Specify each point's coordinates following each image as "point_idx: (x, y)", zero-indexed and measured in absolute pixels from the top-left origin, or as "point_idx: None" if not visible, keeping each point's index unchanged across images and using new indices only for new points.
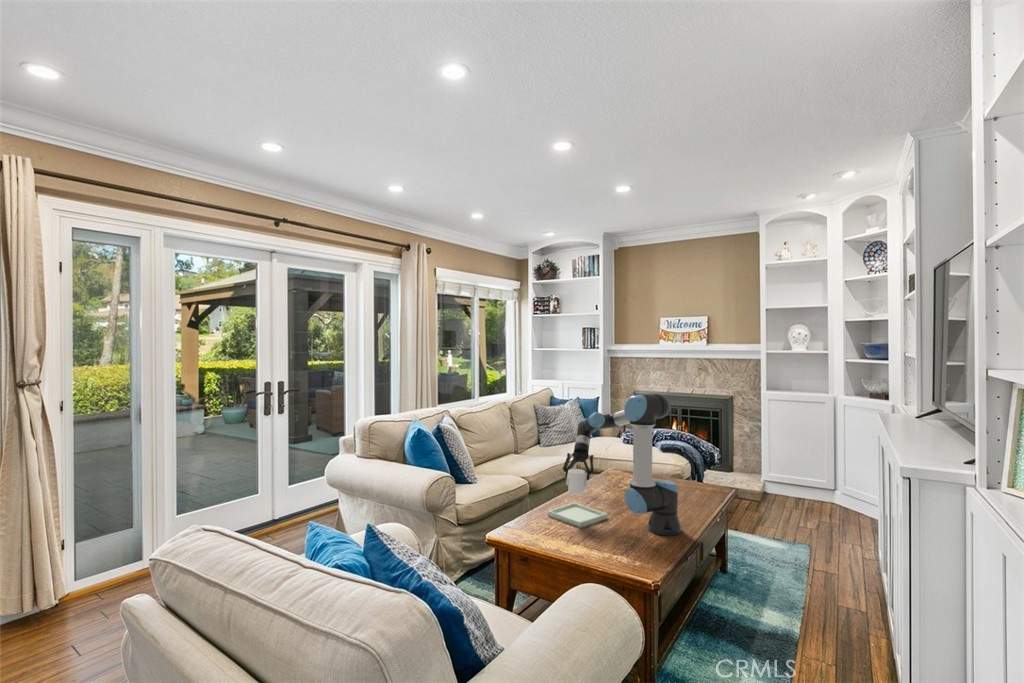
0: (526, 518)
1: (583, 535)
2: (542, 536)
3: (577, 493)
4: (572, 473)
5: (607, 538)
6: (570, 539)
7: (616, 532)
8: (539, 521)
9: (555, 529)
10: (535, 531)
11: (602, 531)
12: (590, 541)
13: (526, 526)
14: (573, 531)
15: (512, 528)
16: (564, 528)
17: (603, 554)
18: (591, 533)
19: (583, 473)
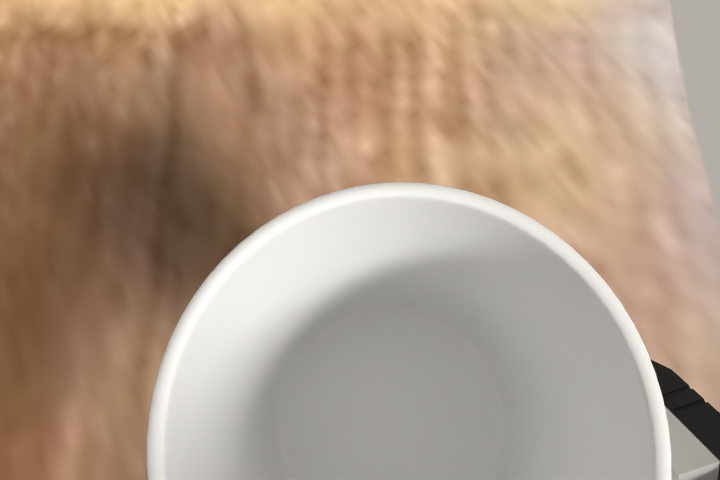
0: (691, 189)
1: (197, 156)
2: (405, 10)
3: (328, 326)
4: (410, 190)
5: (39, 202)
6: (242, 63)
7: (5, 336)
8: (577, 195)
9: (400, 138)
10: (484, 44)
11: (104, 292)
12: (124, 103)
13: (583, 74)
14: (282, 176)
15: (627, 5)
16: None
17: (7, 3)
18: (162, 215)
19: (164, 375)
